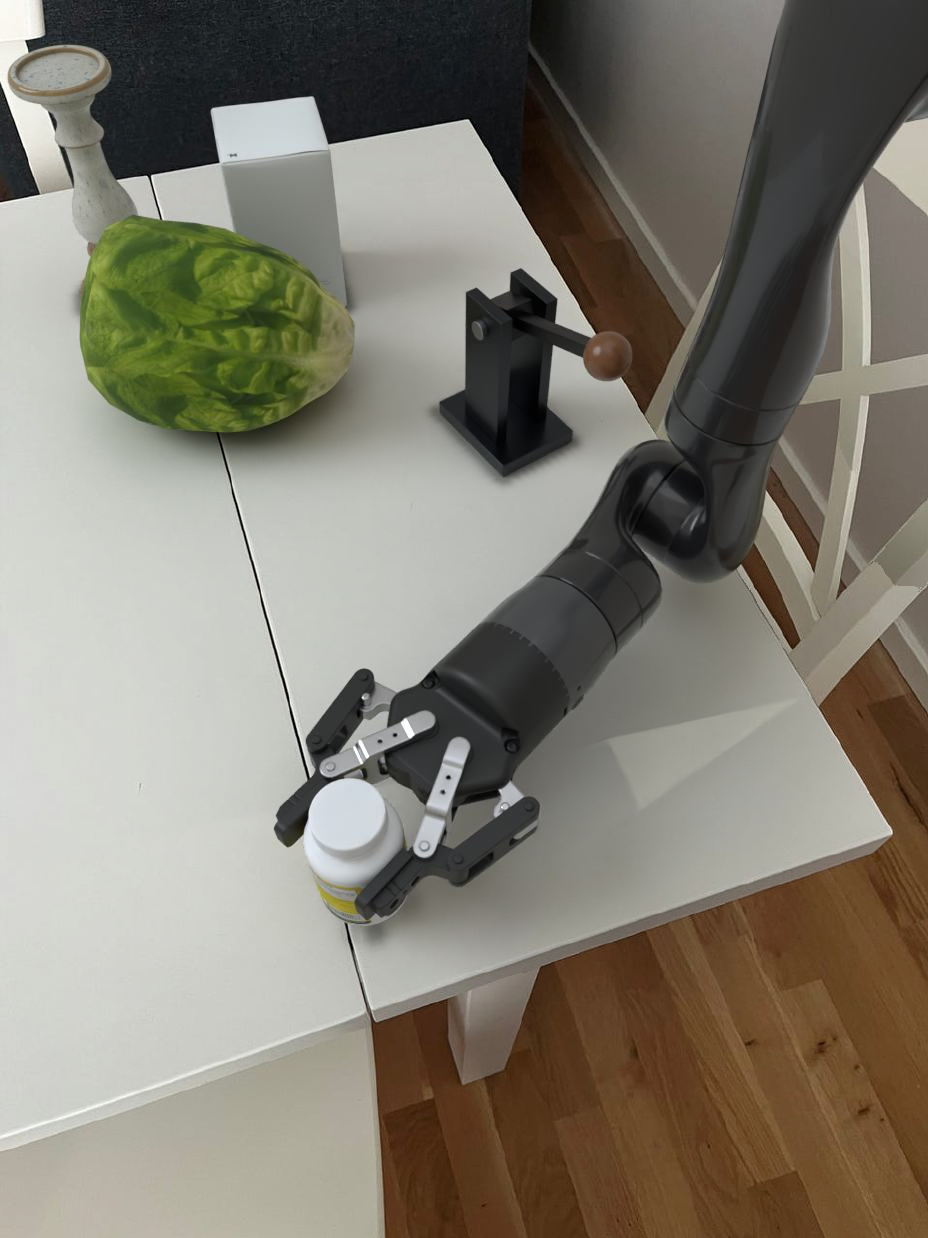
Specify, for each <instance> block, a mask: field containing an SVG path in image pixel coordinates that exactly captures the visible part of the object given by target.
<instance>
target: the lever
mask: <svg viewBox="0 0 928 1238" xmlns="http://www.w3.org/2000/svg"><path fill="white" fill-rule="evenodd" d="M489 299H490V300H492V301H493V302H494V303H495V304H496V305H497V306H498V307H499V308H501V309H502V310H503V311H504V312H505V313H506V314H507V315H508V316H510V317H511V318H512V320H513V321H512V339H511V341H514V340H516V339H518V338H520V337H523V336H525V335H527V334H528V335H531V336H533V337H535V338H538V339H540V340H542V341H545V342H547V343H549V344H552V345H553V347H556V348H558V349H561V350H564V351H566V352H568V353H570V354H573V355H575V356H577V357H580V358H581V359H582V360H583V366H584V368H585V371H587V373H588V375H589V376H591V377H592V378H594V379H595V380H597V381H600V382H605V383H607V382H613V381H617V380H619V379H621V378H622V377H623V376H625V375H626V373H627V372H628V371H629V369H630V368H631V365H632V362H633V348H632V346H631V343H630V342H629V340H628V339H627V338H626V337H625V336H624V335H623V334H621V333H620V332H617V331H613V330H604V331H600V332H598V333H596V334H595V335H593V336H592V337H591V336H588V335H586V334H583V333H580V332H578V331H576V330H573V329H571V328H568V327H566V326H564V325H561V324H558V323H556V322H555V323H553V322H551V321H548V320H546V319H543V318H541V317H539V316H536V315H534V314H533V308H532V300H531V299H529V298H526V297H524V296H521V295H519V294H516V293H514V292H511V291H510V290H507V291H505V292H503V293H500V294H498V295H496V296H494V297H492V298H489Z"/></svg>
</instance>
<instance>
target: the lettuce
mask: <svg viewBox="0 0 928 1238" xmlns="http://www.w3.org/2000/svg"><path fill="white" fill-rule="evenodd" d="M84 279H85V281H84V286H83V292H82V297H81V300H80V310H79V311H80V313H79V314H80V315H79V347H80V351H81V356H82V359H83V360H82V361H83V365H84V368H85V373H86V377H87V380H88V381H89V382H90V383H91V385H92V386H93V388H95V389H96V390H97V392H98V393H99V394H100V395H101V396H102V397H103V398H104V400H105V401H106V402H107V403H108V404H109V405H111V406H112V407H114V408H116V409H118V410H119V411H121V412H123V413H125V414H126V415H128V416H130V417H132V418H133V419H135V420H137V421H139V422H142V423H146V424H149V425H153V426H156V427H159V428H163V429H166V430H177V431H192V432H193V431H194V432H195V431H196V432H211V433H227V434H228V433H237V432H248V431H252V430H255V429H259V428H262V427H266V426H269V425H272V424H274V423H276V422H279V421H281V420H284V419H285V418H288V417H290V416H291V415H293V414H294V413H296V412H297V411H299V410H300V409H302V408H303V407H304V406H306V405H307V404H309V403H311V402H313V401H315V400H316V399H318V398H320V397H321V396H324V395H325V394H327V393H328V392H329V391H330V390H331V389H332V388H334V387H335V386H336V385H337V384H338V383H339V382H340V380H341V379H342V378H343V377H344V376H345V374H346V373H347V371H348V370H349V367H350V364H351V360H352V355H353V352H354V344H355V337H356V336H355V335H356V324H355V321H354V319H353V318H352V316H351V314H350V313H349V311H348V310H347V308H346V306H345V307H344V305H343V304H342V303H341V302H340V301H339V300H338V299H337V298H336V297H335V296H333V295H332V294H331V293H330V292H329V291H328V290H326V289H325V288H324V287H323V286H322V284H321V283H320V282H319V281H318V280H317V278H316V277H315V276H314V275H313V274H312V272H311V271H310V270H308V269H307V268H306V267H304V266H303V265H302V264H300V263H299V262H298V261H296V260H295V259H294V258H292V257H290V256H288V255H286V254H284V253H282V252H280V251H278V250H276V249H274V248H271V247H268V246H266V245H263V244H260V243H257V242H255V241H252V240H250V239H248V238H245V237H243V236H241V235H239V234H236V233H234V232H233V230H230V229H227V228H224V227H220V226H214V225H208V224H203V223H198V222H188V221H177V220H166V219H165V220H164V219H160V218H153V217H148V216H143V215H139V214H138V215H131V216H129V217H127V218H125V219H123V220H121V221H119V222H117V223H114V224H112V225H110V226H108V227H106V228H105V230H104V232H103V234H102V236H101V238H100V240H99V242H98V244H97V246H96V247H95V249H94V251H93V253H92V255H91V257H90V256H89V260H88V262H87V266H86V271H85V276H84Z"/></svg>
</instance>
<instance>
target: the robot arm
mask: <svg viewBox="0 0 928 1238" xmlns="http://www.w3.org/2000/svg"><path fill="white" fill-rule="evenodd" d="M757 107H758V108H757V111H756V116H755V121H754V124H753V128H752V133H751V137H750V141H749V145H748V148H747V153H746V157H745V161H744V165H743V170H742V173H741V179H740V183H739V187H738V192H737V197H736V201H735V205H734V210H733V213H732V218H731V223H730V227H729V232H728V237H727V240H726V244H725V248H724V251H723V255H722V259H721V262H720V265H719V269H718V273H717V276H716V278H715V282H714V286H713V287H712V288H713V289H712V292H711V295H710V296H709V297H710V298H709V300H708V303H707V306H706V308H705V311H704V314H703V316H702V318H701V321H700V323H699V326H698V328H697V331H696V333H695V335H694V337H693V340H692V342H691V345H690V346H689V349H688V351H687V352H688V353H687V354H686V357H685V359H684V361H683V364H682V365H681V368H680V371H679V373H678V376H677V378H676V381H675V383H674V386H673V389H672V390H671V393H670V395H669V398H668V400H667V403H666V407H665V410H664V416H663V425H664V431H665V434H666V436H667V438H668V440H666V439H661V438H659V439H658V438H657V439H656V438H655V439H649V440H645V441H641V442H639V443H637V444H635V445H632V446H631V447H630V448H629V449H627V450H626V451H625V452H624V453H623V454H622V455H621V456H620V457H619V459H618V460H617V462H616V464H615V465H614V466H613V468H612V470H611V471H610V474H609V475H608V478H607V480H606V481H605V483H604V486H603V488H602V490H601V492H600V494H599V496H598V498H597V500H596V502H595V503H594V504H595V505H593V508H592V509H591V511H590V513H589V515H587V517H586V519H585V520H584V522H583V523H582V525H581V527H580V528H579V529H578V531H576V533H575V535H574V536H573V537H572V538H571V540H569V542H568V543H567V544H566V546H565V547H564V548H563V549H561V550H560V551H559V553H558V554H557V555H556V556H555V557H554V558H552V559H551V561H550V562H548V563H547V564H546V565H545V566H544V567H543V568H542V569H541V570H540V571H539V572H538V573H537V574H536V575H535V576H533V578H531V579H530V580H529V581H528V582H527V583H526V584H524V585H523V586H521V587H520V588H519V589H517V590H516V591H514V592H513V593H512V594H510V595H509V596H507V597H506V598H505V599H504V600H502V601H501V602H500V603H499V604H498V605H497V606H496V607H495V608H494V609H493V610H492V611H490V613H489V614H488V615H487V616H485V618H483V620H481V621H480V623H478V624H477V625H476V626H475V627H474V628H473V629H472V630H470V632H468V633H467V635H465V636H464V638H462V639H461V641H459V642H458V643H457V644H456V645H455V646H454V647H453V648H451V650H450V651H449V652H448V653H446V654H445V656H444V657H442V658H441V659H440V660H439V661H438V662H437V663H436V664H435V665H434V666H433V667H432V668H430V670H429V671H428V672H427V674H426V675H425V676H424V678H423V679H421V680H420V681H419V682H418V683H416V684H415V685H412V686H411V687H408V688H405V689H402V690H400V691H398V692H396V691H395V690H393V689H391V688H389V687H387V686H385V685H383V684H381V683H379V682H377V681H376V679H375V675H374V672H373V671H372V670H371V669H369V668H360V669H357V670H356V671H355V672H354V673H353V674H352V676H351V678H350V679H349V680H348V681H347V683H346V684H345V685H344V687H343V688H342V689H341V691H340V692H339V693H338V695H337V696H336V697H335V699H333V701H332V703H330V705H329V706H328V708H326V710H325V712H324V713H323V714H322V715H321V717H320V718H319V720H318V721H317V723H316V724H315V725H314V726H313V727H312V729H311V730H310V731H309V733H308V734H307V736H306V738H305V746H306V750H307V752H308V755H309V759H310V762H311V765H312V767H313V768H314V772H313V774H312V776H311V777H309V778H308V779H307V780H306V781H305V782H304V783H303V784H302V785H301V786H300V787H299V788H298V789H296V791H295V792H294V793H293V794H291V796H289V797H288V799H286V800H285V801H283V803H282V804H280V806H279V807H278V809H277V811H276V814H275V818H276V820H277V821H276V823H275V824H274V825H273V832H274V834H275V837H276V839H277V840H278V841H279V842H280V843H282V845H283V846H284V847H286V848H290V847H292V846H294V845H295V844H296V843H297V841H299V840H300V839H301V838H303V835H304V829H305V826H306V823H307V821H308V817H309V809H310V806H311V803H312V801H313V799H314V798H315V796H316V795H317V794H318V792H319V791H320V790H321V789H322V788H324V787H325V786H326V785H328V784H330V783H332V782H334V781H337V780H340V779H347V778H353V779H360V780H363V781H366V782H368V783H370V784H371V785H376V784H378V783H380V782H383V781H384V780H388V779H389V778H391V779H392V780H394V782H396V783H397V784H398V785H400V786H403V787H405V788H406V789H409V790H411V791H412V793H414V795H415V796H416V798H417V799H418V801H419V802H420V803H421V804H422V805H424V806H425V808H424V815H423V817H422V820H421V821H420V822H421V823H420V825H419V828H418V831H417V832H416V836H415V839H414V841H413V844H412V846H411V847H410V848H408V849H407V850H406V849H405V848H404V847H403V848H402V849H401V850H400V851H399V852H398V853H397V854H396V855H395V857H394V858H393V859H392V860H391V861H390V862H389V863H388V864H387V865H386V866H385V867H384V868H383V869H382V870H381V871H380V872H379V873H378V874H377V875H376V876H375V878H374V879H373V880H372V881H371V882H370V883H369V884H368V885H367V886H366V887H365V888H364V889H363V890H362V891H361V892H360V893H359V894H358V896H357V897H356V899H355V901H354V905H355V908H356V911H357V912H358V913H359V914H360V915H361V916H362V917H363V918H364V919H365V920H369V919H370V918H372V917H373V916H374V915H375V914H377V915H378V916H379V917H380V918H382V917H384V916H386V915H388V914H390V913H391V912H392V911H393V910H394V909H395V908H396V907H397V906H398V904H400V902H401V901H402V900H403V899H404V898H405V897H406V896H407V895H408V896H409V894H410V893H411V892H412V891H413V890H414V888H415V887H416V886H417V885H418V884H420V882H421V881H422V880H423V879H424V878H427V877H430V876H431V877H432V876H434V877H438V878H441V879H443V880H447V881H448V883H449V884H450V885H451V886H452V887H455V888H463V887H465V886H467V885H468V884H469V883H470V882H471V881H473V880H474V879H475V878H477V877H478V876H479V875H481V874H482V873H484V872H485V871H486V870H487V869H489V868H490V867H492V866H493V865H494V864H496V862H498V861H500V859H502V858H504V857H505V856H506V855H508V853H510V852H511V851H512V850H514V849H515V848H516V847H518V846H519V845H521V844H522V843H523V842H524V841H526V840H527V839H528V838H529V837H531V836H532V835H534V834H535V833H536V832H537V830H538V826H539V821H540V815H541V811H540V810H541V803H540V802H539V800H538V799H536V798H535V797H533V796H529V795H527V796H526V795H525V794H524V793H523V792H522V791H521V790H520V789H519V788H518V786H517V785H516V784H515V783H514V782H513V778H514V775H515V772H516V771H517V769H518V767H519V766H520V765H521V764H522V763H523V762H525V761H526V759H527V758H528V757H529V756H530V755H531V754H532V753H533V752H534V751H535V749H536V748H537V747H538V746H539V745H540V744H541V743H542V742H543V741H544V740H545V739H546V738H547V737H548V736H549V734H550V733H552V731H553V730H554V729H555V728H556V727H557V726H558V725H559V724H560V722H561V721H563V719H564V718H565V717H567V715H568V714H569V713H570V712H572V711H574V710H575V709H576V708H577V707H578V706H579V705H580V703H582V701H584V699H585V696H586V695H587V693H588V692H589V691H590V690H591V689H592V688H593V687H594V685H595V684H596V683H597V681H599V678H600V677H601V676H602V674H603V673H604V671H605V669H606V668H607V667H608V665H609V664H610V663H611V662H612V660H613V659H614V658H615V657H616V656H617V655H619V653H620V652H621V651H622V650H623V649H624V648H625V647H626V645H628V644H629V643H630V641H631V640H632V639H633V638H634V637H635V636H636V635H637V634H638V633H639V632H640V631H641V630H642V628H643V627H644V626H645V625H646V624H647V623H648V622H649V621H650V619H651V618H652V617H653V616H654V615H655V614H656V612H657V610H658V609H659V607H660V604H661V602H662V598H663V585H662V580H661V578H660V575H659V573H658V571H657V569H656V568H655V566H654V564H653V562H652V561H651V560H650V558H649V557H648V556H647V555H649V556H650V557H651V558H653V559H654V560H656V561H657V562H658V563H660V564H662V565H663V566H664V567H666V568H667V569H669V570H670V571H671V572H673V573H674V574H676V575H677V576H679V577H680V578H681V579H683V580H686V581H687V582H690V583H693V584H699V585H700V584H701V585H702V584H703V585H706V584H712V583H716V582H718V581H721V580H724V579H725V578H727V577H729V576H730V575H731V574H733V573H734V572H735V571H737V569H738V568H739V567H740V566H741V565H742V564H743V563H744V561H745V560H746V559H747V557H748V556H749V553H750V552H751V550H752V549H753V546H754V544H755V541H756V539H757V537H758V534H759V530H760V526H761V522H762V518H763V513H764V508H765V501H766V493H767V486H768V482H769V481H768V480H769V475H770V471H771V468H772V462H773V460H774V455H775V452H776V450H777V446H778V444H779V442H780V440H781V439H782V436H783V435H784V433H785V431H786V430H787V427H788V425H789V424H790V422H791V420H792V418H793V416H794V414H795V413H796V411H797V409H798V407H799V405H800V404H801V402H802V400H803V399H804V397H805V395H806V392H807V391H808V389H809V387H810V385H811V383H812V381H813V380H814V377H815V375H816V374H817V373H816V372H817V371H818V369H819V366H820V364H821V361H822V359H823V356H824V353H825V351H826V346H827V342H828V338H829V335H830V334H829V333H830V328H831V322H832V321H831V320H832V306H833V305H832V304H833V303H832V302H833V270H834V260H835V254H836V249H837V245H838V240H839V237H840V234H841V230H842V228H843V225H844V223H845V220H846V217H847V216H848V213H849V210H850V208H851V206H852V204H853V202H854V201H855V199H856V196H857V194H858V193H859V191H860V189H861V187H862V185H863V184H864V183H865V181H866V179H867V178H868V176H869V174H870V172H871V171H872V170H873V167H874V166H875V165H876V163H877V162H878V160H879V159H880V157H881V156H882V154H883V153H884V151H885V150H886V148H887V147H888V146H889V144H890V142H891V141H893V138H894V137H895V136H896V135H897V133H898V131H899V130H900V129H901V127H902V126H903V125H904V124H905V123H911V122H914V121H915V122H916V121H920V120H926V119H928V0H784V1H783V5H782V8H781V13H780V15H779V19H778V21H777V27H776V30H775V34H774V38H773V42H772V47H771V50H770V55H769V59H768V64H767V67H766V72H765V77H764V82H763V85H762V91H761V95H760V99H759V104H758V106H757ZM646 554H647V555H646ZM382 712H388V714H387V715H388V716H387V723H386V727H385V728H383V729H381V730H379V731H377V732H373V733H371V734H369V735H367V736H365V737H362V738H360V739H359V740H358V741H357V742H356V743H355V745H354V746H351V747H350V748H347V749H345V750H343V748H344V747H345V745H346V744H347V743H348V742H349V740H350V739H351V737H352V736H353V735H354V734H355V732H356V731H357V729H358V728H359V726H360V725H361V724H362V722H363V721H364V720H367V721H372V720H373V719H374V718H376V716H378V715H379V714H380V713H382ZM342 750H343V751H342ZM496 798H497V799H499V801H498V803H497V804H496V805H495V806H494V809H493V817H492V818H493V819H492V820H490V821H489V822H488V823H486V824H485V825H484V826H482V827H480V829H478V830H477V831H475V832H474V833H473V834H471V835H470V836H468V837H467V838H466V839H464V841H462V842H461V843H459V844H458V845H457V846H455V847H454V848H452V847H450V846H447V845H446V844H447V842H448V841H447V840H449V838H450V836H451V833H452V830H453V828H454V825H455V823H456V820H457V817H458V814H459V812H460V808H461V806H467V805H469V804H474V803H480V802H484V801H488V800H492V799H496ZM408 896H407V897H408Z"/></svg>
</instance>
